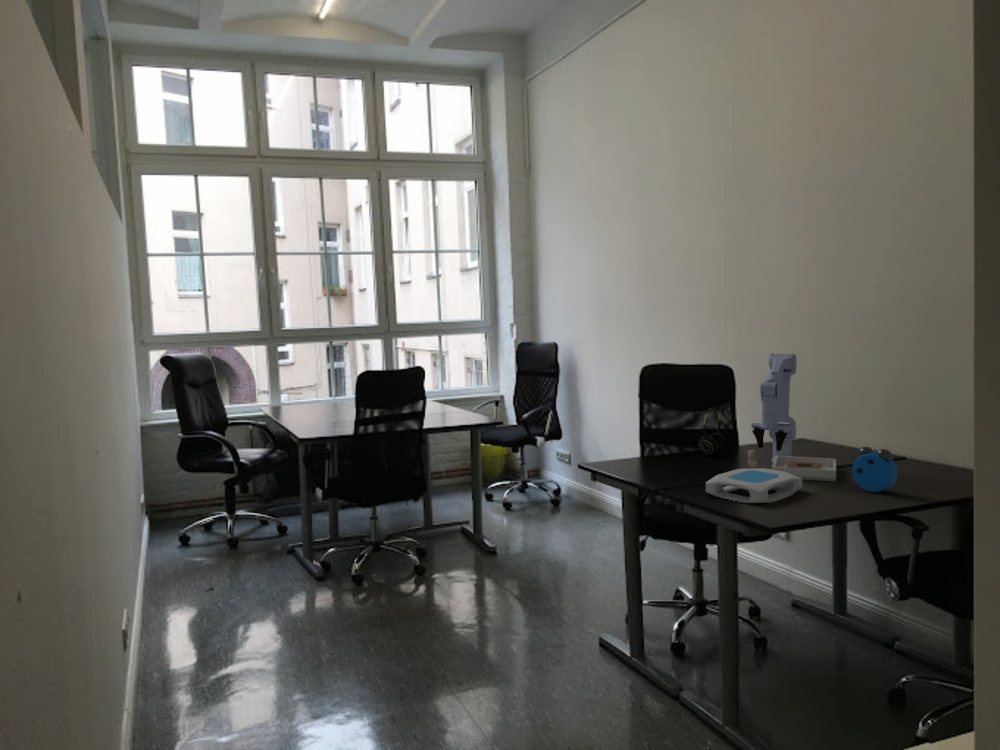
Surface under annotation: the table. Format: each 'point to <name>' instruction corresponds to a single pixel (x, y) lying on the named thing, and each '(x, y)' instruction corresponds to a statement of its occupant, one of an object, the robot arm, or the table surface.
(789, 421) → the robot arm
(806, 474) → the tray
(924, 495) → the table surface
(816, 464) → the bore plate
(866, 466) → the alarm clock
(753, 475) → the white and blue housing
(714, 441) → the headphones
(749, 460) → the peg
